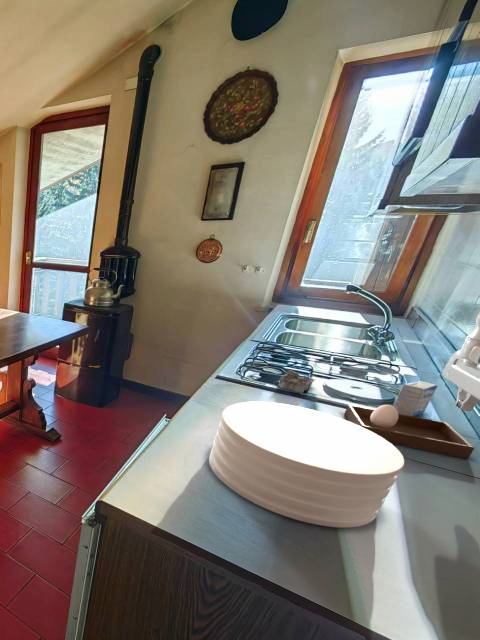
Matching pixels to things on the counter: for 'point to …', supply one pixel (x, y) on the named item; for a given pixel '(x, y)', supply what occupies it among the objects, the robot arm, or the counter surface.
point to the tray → (415, 432)
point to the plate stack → (304, 463)
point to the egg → (384, 417)
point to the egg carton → (295, 382)
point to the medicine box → (414, 398)
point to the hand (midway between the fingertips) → (462, 408)
